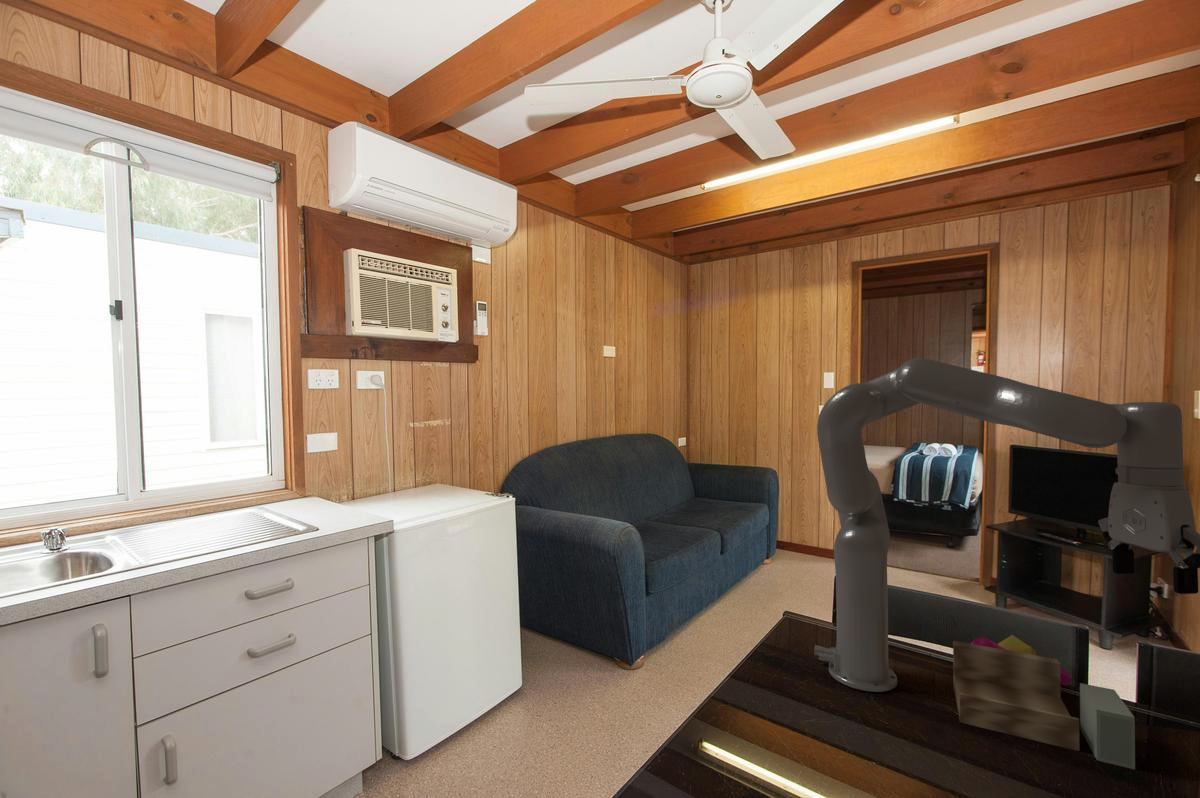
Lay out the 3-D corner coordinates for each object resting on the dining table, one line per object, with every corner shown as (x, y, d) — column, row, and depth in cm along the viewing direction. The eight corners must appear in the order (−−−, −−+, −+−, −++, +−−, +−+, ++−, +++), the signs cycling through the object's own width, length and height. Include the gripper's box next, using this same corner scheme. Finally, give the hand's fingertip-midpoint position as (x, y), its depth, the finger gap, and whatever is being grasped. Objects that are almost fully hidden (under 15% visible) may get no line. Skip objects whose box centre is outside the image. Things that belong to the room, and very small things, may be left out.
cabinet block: (1097, 760, 84) (1096, 709, 84) (1080, 729, 92) (1079, 683, 92) (1135, 770, 82) (1134, 717, 82) (1114, 737, 90) (1114, 689, 90)
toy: (1085, 710, 99) (1083, 651, 103) (986, 677, 101) (987, 621, 105) (1042, 703, 108) (1042, 649, 112) (952, 673, 110) (954, 621, 114)
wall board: (960, 722, 94) (959, 671, 94) (953, 686, 106) (953, 640, 106) (1079, 751, 86) (1078, 695, 86) (1057, 708, 98) (1057, 659, 98)
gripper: (1079, 471, 96) (1082, 567, 96) (1185, 486, 79) (1189, 602, 79) (1120, 470, 96) (1123, 566, 96) (1235, 484, 79) (1239, 601, 79)
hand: (1153, 582), depth 87 cm, fingers open, 9 cm apart
